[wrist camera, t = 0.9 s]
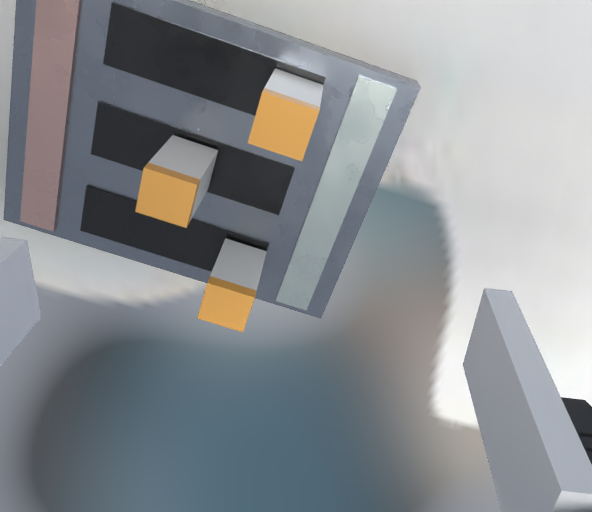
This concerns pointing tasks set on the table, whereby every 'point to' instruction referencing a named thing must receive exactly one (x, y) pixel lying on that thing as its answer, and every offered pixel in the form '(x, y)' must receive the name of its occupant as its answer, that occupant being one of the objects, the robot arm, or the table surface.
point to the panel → (192, 138)
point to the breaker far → (232, 285)
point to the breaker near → (286, 114)
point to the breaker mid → (176, 181)
